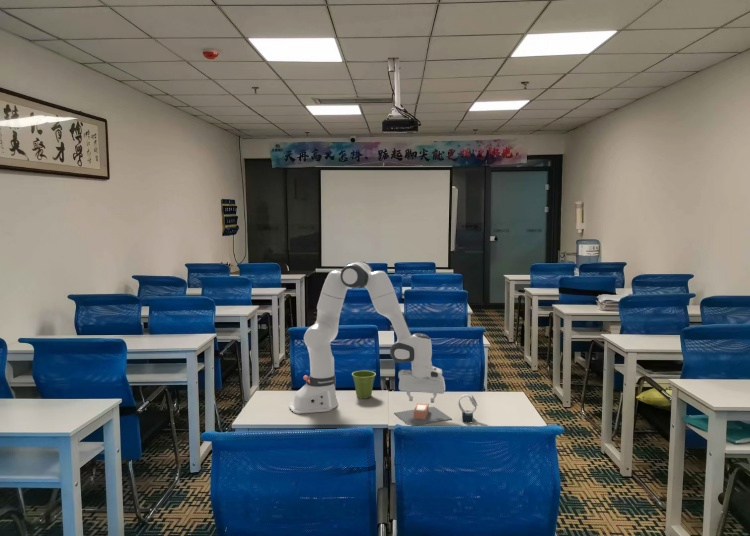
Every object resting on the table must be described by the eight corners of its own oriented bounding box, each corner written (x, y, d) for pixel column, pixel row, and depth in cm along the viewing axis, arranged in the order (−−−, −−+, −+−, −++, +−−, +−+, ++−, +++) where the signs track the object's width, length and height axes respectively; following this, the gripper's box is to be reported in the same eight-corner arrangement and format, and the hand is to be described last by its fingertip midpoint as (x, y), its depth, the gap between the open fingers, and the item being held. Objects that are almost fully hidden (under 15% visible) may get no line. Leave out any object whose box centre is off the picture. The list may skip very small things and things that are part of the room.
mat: (409, 426, 207) (409, 425, 207) (393, 413, 222) (393, 412, 222) (451, 419, 214) (451, 418, 214) (433, 407, 229) (433, 406, 229)
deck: (417, 403, 224) (413, 411, 214) (428, 403, 223) (425, 411, 213) (417, 410, 224) (413, 418, 215) (428, 411, 223) (425, 419, 213)
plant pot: (378, 399, 241) (378, 376, 240) (354, 401, 238) (354, 378, 237) (373, 391, 252) (373, 369, 251) (350, 393, 250) (349, 371, 249)
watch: (477, 422, 210) (477, 397, 209) (458, 422, 211) (458, 396, 210) (476, 417, 216) (477, 392, 215) (458, 417, 217) (458, 392, 216)
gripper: (397, 371, 218) (397, 402, 219) (444, 374, 213) (444, 405, 214) (399, 367, 224) (399, 397, 225) (445, 370, 219) (445, 400, 220)
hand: (421, 401), depth 220 cm, fingers open, 8 cm apart
